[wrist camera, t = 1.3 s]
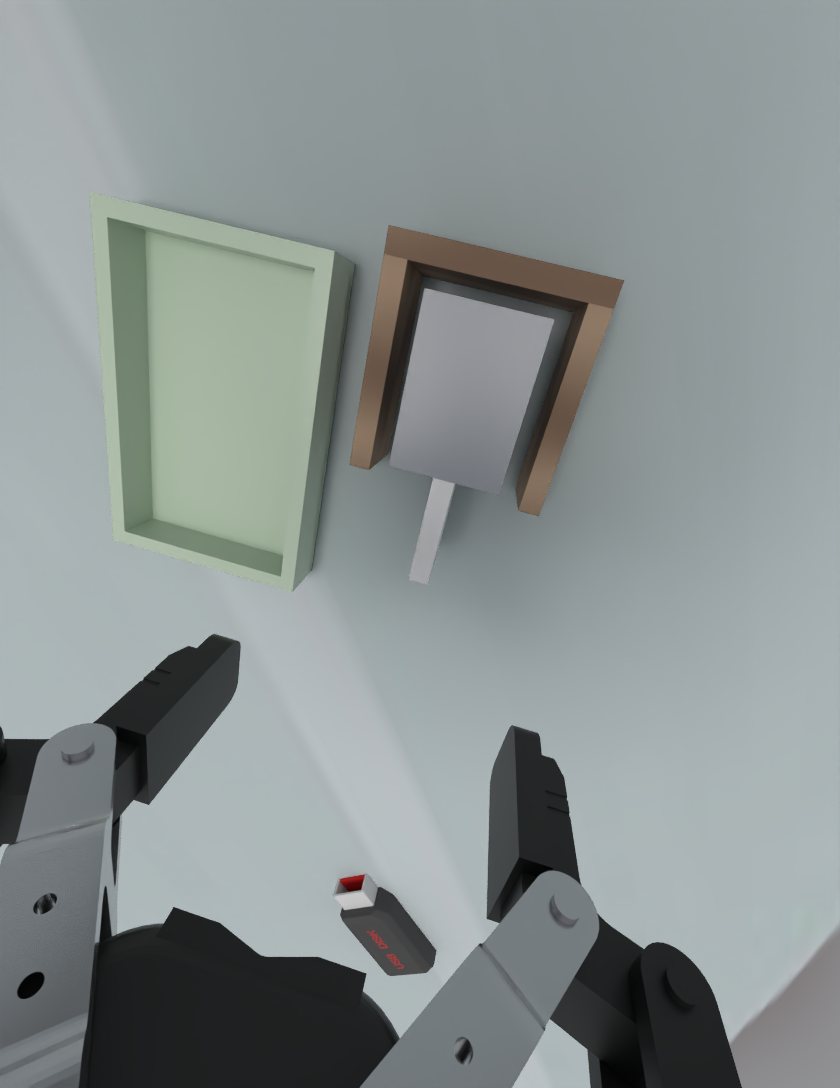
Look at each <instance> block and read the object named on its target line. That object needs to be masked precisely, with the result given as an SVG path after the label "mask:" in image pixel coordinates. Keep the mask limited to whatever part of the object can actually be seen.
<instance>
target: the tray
mask: <svg viewBox="0 0 840 1088" xmlns="http://www.w3.org/2000/svg"><path fill="white" fill-rule="evenodd" d="M89 193H90V207H91V222H92V237H93V251H94V266H95V281H96V295H97V310H98V324H99V339H100V354H101V368H102V383H103V398H104V412H105V427H106V442H107V456H108V471H109V485H110V500H111V515H112V529H113V540H116V541H119V542H123V543H126V544H130V545H133V546H137V547H140V548H143V549H147V550H150V551H154V552H157V553H161V554H164V555H167V556H171V557H174V558H178V559H181V560H185V561H188V562H191V563H195V564H198V565H202V566H205V567H209V568H212V569H215V570H219V571H222V572H226V573H229V574H233V575H236V576H239V577H243V578H246V579H250V580H253V581H257V582H260V583H263V584H267V585H270V586H274V587H277V588H281V589H284V590H287V591H291V592H293V591H294V590H295V588H296V587H297V586H298V585H299V584H300V583H301V582H302V580H303V579H304V578H305V577H306V576H307V575H308V574H309V573H310V571H311V570H312V564H313V557H314V550H315V543H316V536H317V529H318V522H319V515H320V508H321V501H322V494H323V487H324V480H325V473H326V466H327V459H328V451H329V444H330V437H331V430H332V423H333V416H334V409H335V402H336V395H337V388H338V381H339V374H340V367H341V360H342V353H343V346H344V339H345V332H346V324H347V317H348V310H349V303H350V296H351V289H352V282H353V275H354V268H355V264H354V263H353V262H351V261H349V260H348V259H346V258H345V257H343V256H342V255H340V254H338V253H337V252H335V251H332V250H328V249H324V248H320V247H316V246H312V245H308V244H303V243H299V242H295V241H291V240H287V239H283V238H279V237H274V236H270V235H266V234H262V233H258V232H254V231H250V230H245V229H241V228H237V227H233V226H229V225H225V224H221V223H216V222H212V221H208V220H204V219H200V218H196V217H192V216H187V215H183V214H179V213H175V212H171V211H167V210H163V209H158V208H154V207H150V206H146V205H142V204H138V203H134V202H129V201H125V200H121V199H117V198H113V197H109V196H105V195H100V194H96V193H92V192H89Z"/></svg>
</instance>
